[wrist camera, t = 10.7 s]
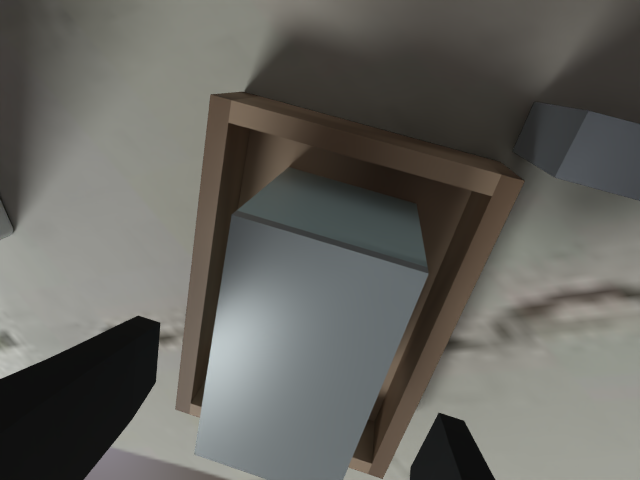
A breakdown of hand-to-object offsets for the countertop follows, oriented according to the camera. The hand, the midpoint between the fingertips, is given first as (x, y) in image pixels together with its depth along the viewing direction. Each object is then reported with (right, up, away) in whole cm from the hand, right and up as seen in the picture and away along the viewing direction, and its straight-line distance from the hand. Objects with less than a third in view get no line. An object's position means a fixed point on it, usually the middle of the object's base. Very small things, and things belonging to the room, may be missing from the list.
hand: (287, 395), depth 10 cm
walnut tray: (+1, +2, +5) cm, 6 cm away
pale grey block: (+1, +2, +5) cm, 5 cm away
